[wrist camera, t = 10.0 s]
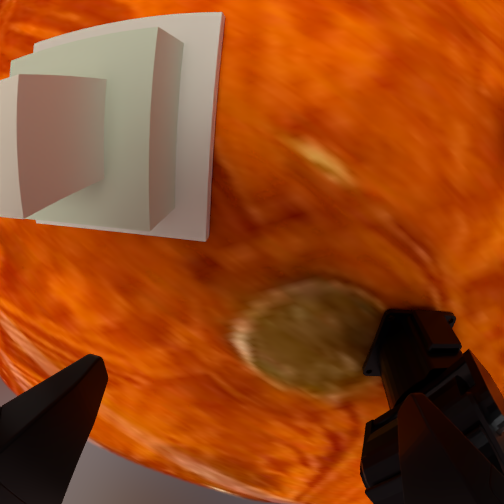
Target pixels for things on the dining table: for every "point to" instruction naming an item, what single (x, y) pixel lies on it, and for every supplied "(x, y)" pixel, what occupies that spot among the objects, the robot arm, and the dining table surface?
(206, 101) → the base plate
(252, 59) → the dining table surface
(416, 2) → the dining table surface
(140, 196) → the base brick
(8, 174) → the pink brick
